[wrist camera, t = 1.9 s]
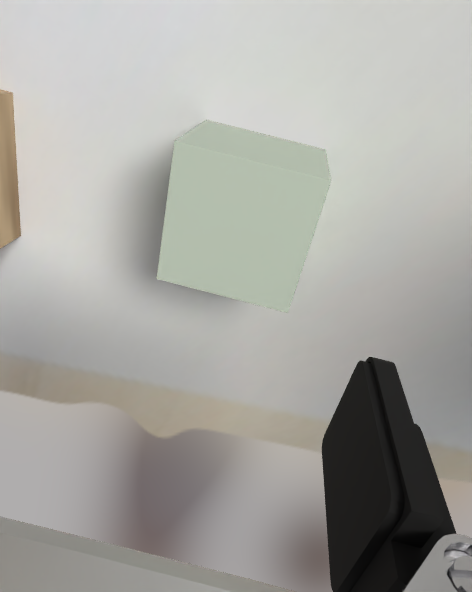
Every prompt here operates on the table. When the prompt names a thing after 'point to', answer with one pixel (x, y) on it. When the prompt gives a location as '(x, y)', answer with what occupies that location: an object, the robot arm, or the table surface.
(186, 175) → the sage cube
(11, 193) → the oak slab
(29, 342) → the table surface
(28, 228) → the table surface
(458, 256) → the table surface
